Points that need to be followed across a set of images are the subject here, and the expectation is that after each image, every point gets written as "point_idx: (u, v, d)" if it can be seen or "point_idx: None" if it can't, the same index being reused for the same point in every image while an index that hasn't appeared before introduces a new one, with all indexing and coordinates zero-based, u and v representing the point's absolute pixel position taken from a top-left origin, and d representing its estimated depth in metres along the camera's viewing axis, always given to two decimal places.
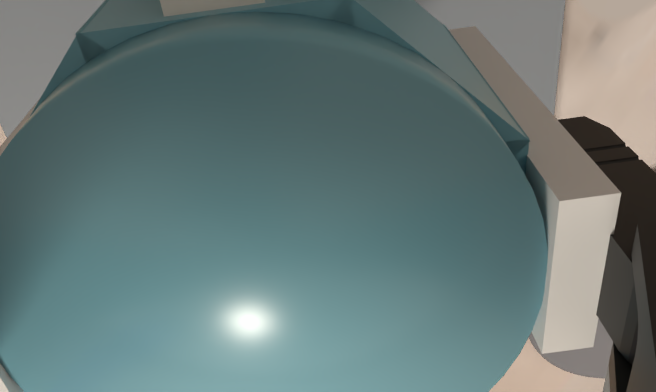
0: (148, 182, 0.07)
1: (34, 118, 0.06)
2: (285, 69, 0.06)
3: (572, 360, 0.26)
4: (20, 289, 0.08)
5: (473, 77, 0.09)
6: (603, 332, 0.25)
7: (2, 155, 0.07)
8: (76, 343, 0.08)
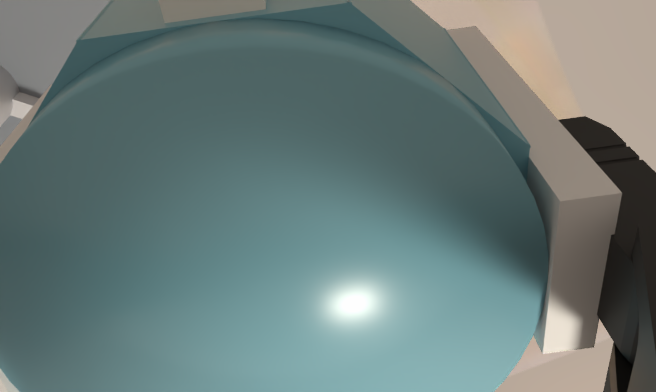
0: (149, 189, 0.07)
1: (35, 125, 0.06)
2: (286, 77, 0.06)
3: None
4: (21, 295, 0.08)
5: (474, 82, 0.09)
6: None
7: (3, 162, 0.07)
8: (77, 349, 0.08)
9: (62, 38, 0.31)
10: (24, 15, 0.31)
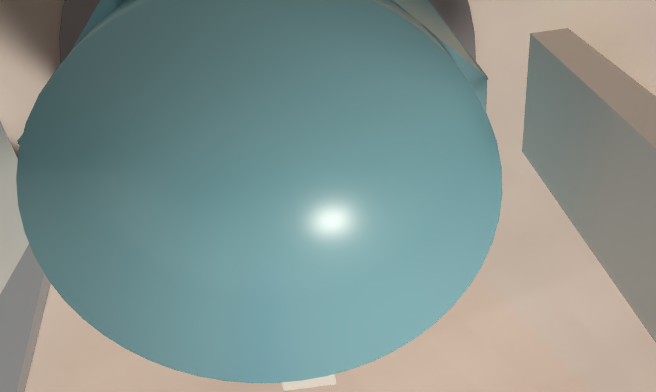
0: (169, 103, 0.08)
1: (78, 47, 0.08)
2: (281, 6, 0.08)
3: None
4: (60, 199, 0.09)
5: (443, 30, 0.11)
6: None
7: (51, 78, 0.08)
8: (105, 249, 0.10)
9: None
10: None
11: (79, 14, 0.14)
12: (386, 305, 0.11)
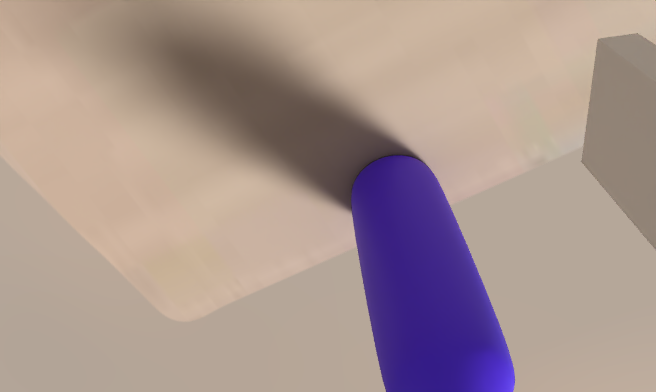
0: None
1: None
2: None
3: None
4: None
5: None
6: None
7: None
8: None
9: None
10: None
11: None
12: None
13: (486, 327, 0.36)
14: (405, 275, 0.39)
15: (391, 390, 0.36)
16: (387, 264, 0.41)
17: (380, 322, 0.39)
